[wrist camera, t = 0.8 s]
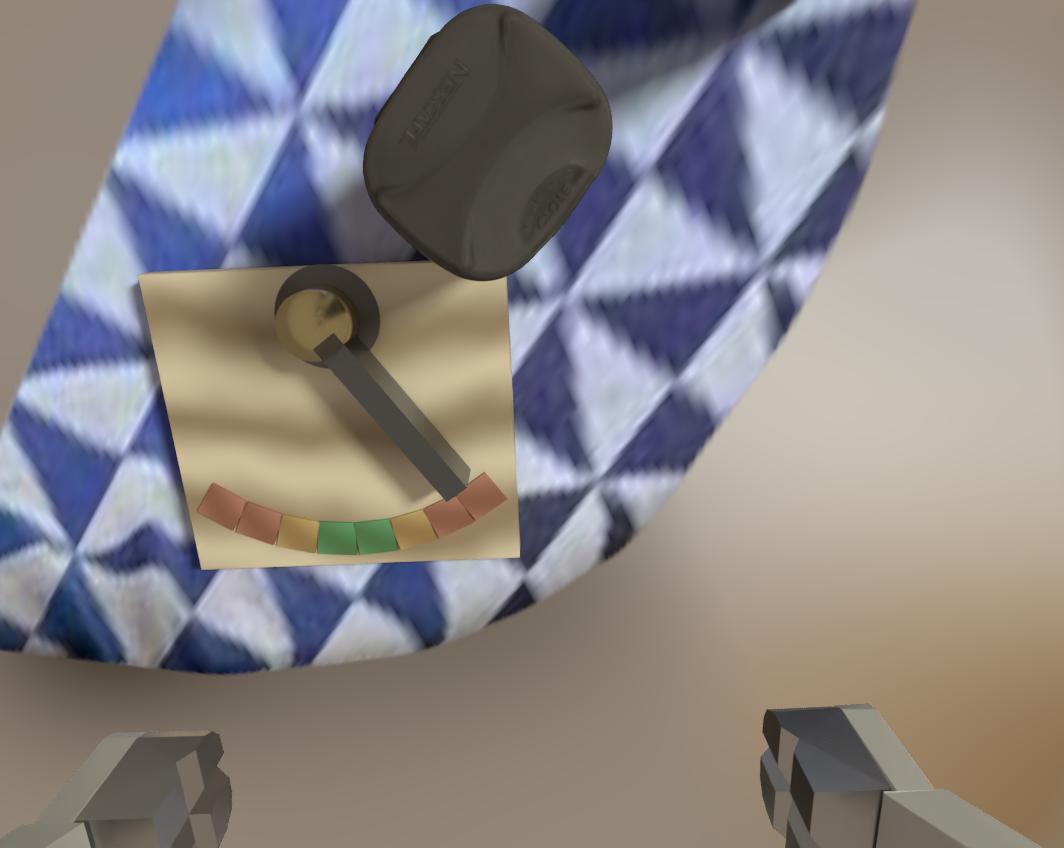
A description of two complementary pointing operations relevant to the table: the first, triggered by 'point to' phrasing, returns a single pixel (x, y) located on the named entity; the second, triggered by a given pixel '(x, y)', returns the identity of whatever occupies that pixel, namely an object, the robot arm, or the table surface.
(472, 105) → the coffee jar
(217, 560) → the dial board
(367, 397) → the tuning needle
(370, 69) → the table surface
